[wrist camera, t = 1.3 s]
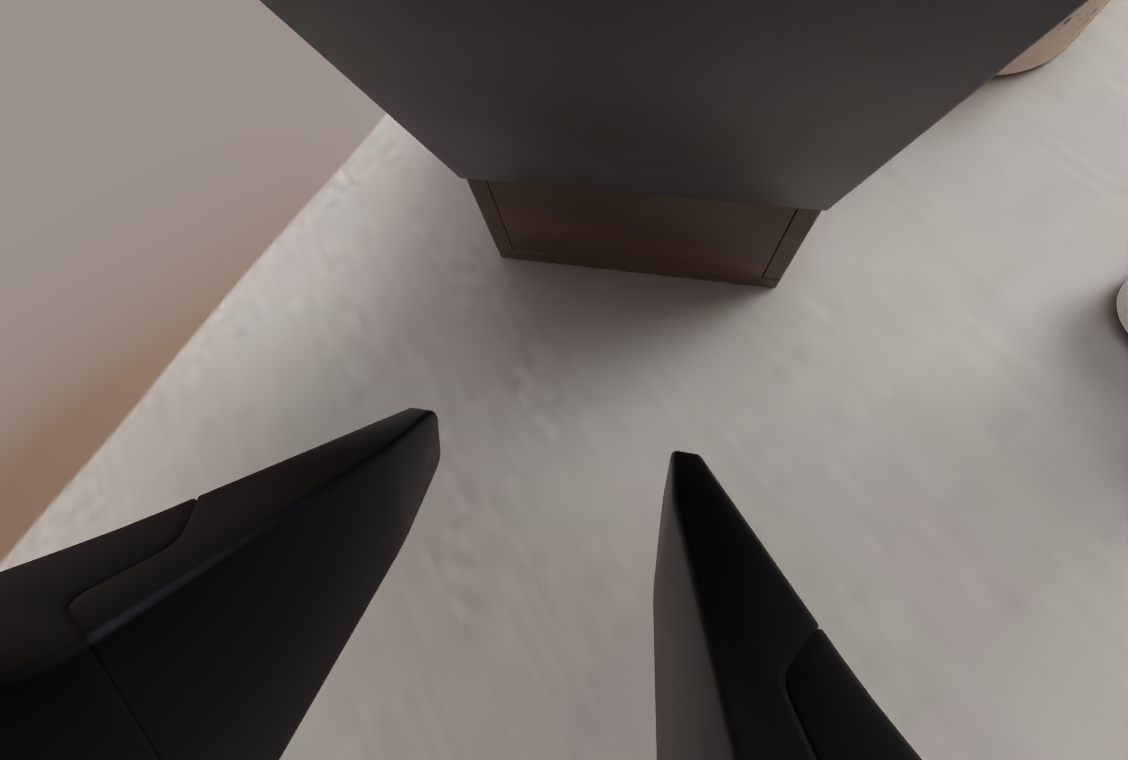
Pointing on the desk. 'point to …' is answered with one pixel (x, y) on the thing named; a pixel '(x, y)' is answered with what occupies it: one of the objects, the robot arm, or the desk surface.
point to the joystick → (1123, 305)
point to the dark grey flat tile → (672, 85)
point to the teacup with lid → (1056, 38)
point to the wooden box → (643, 231)
